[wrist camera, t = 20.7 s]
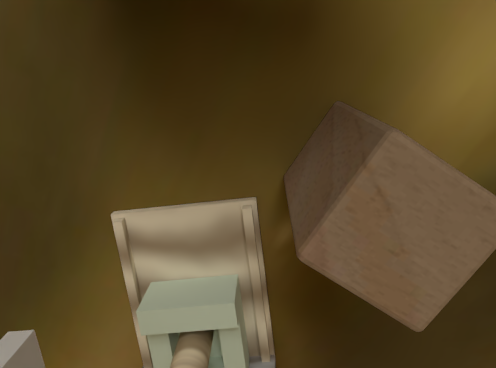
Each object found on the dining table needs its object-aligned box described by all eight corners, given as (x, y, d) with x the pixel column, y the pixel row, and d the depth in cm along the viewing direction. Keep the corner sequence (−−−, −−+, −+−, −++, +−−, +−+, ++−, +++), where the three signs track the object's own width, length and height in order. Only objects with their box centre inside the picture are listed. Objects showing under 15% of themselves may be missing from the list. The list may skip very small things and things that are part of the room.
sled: (151, 282, 49) (135, 311, 43) (237, 274, 48) (234, 303, 42) (167, 363, 52) (155, 401, 46) (249, 357, 51) (247, 394, 45)
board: (113, 211, 48) (96, 228, 43) (256, 196, 47) (255, 212, 42) (147, 369, 53) (136, 400, 48) (275, 359, 52) (276, 389, 47)
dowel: (181, 310, 48) (151, 405, 35) (212, 308, 48) (195, 402, 35) (186, 338, 49) (158, 440, 36) (217, 335, 49) (201, 437, 36)
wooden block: (356, 225, 47) (420, 337, 28) (281, 177, 46) (294, 260, 27) (414, 151, 45) (528, 217, 25) (336, 98, 43) (394, 126, 24)
